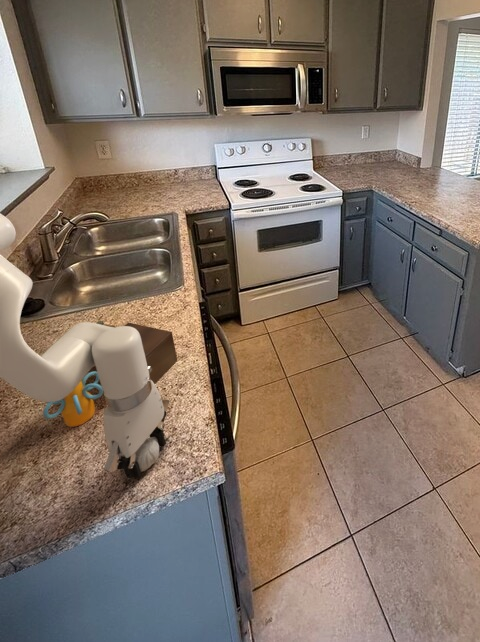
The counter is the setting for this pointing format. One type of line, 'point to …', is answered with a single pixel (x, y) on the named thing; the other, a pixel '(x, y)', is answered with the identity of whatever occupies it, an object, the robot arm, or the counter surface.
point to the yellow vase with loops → (77, 403)
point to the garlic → (147, 453)
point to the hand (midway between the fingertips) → (146, 458)
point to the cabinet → (155, 350)
